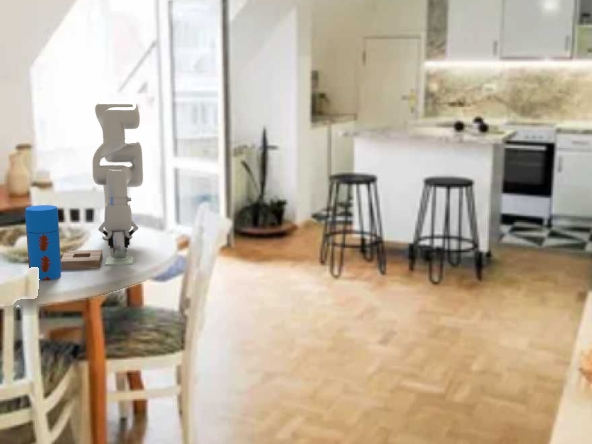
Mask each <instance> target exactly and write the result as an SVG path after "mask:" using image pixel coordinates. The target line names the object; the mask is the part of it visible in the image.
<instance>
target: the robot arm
mask: <svg viewBox="0 0 592 444" xmlns="http://www.w3.org/2000/svg"><path fill="white" fill-rule="evenodd" d="M94 112H95V116H96V119H97V120H98V123H99V126H100V127H101V131H102V144H100V145H99V147H98V148H97V149H96V150H95V152H94V154H93V156H92V179H93V182H94V183H95V184H96V185H98V186H102V187H103V195H104V196H103V197H104V215H103V216H104V221H103V222H102V223H101V225H100V226H98V231H99V232H101V234H102V238H103V239H104V240H107V243H108V247H110V249H112V231H113V230H125V233H126V249H128V248H129V246H130V244H131V243H130V241H131V240H130V238H132V237H133V235H134V233H135V232H136V231H138V229H139V226H138V225H137V224H136V223H135V222H134V221H133V219H132V217H133V215H132V209H131V205H130V204H131V203H129V202H132V197H130V196H128V188H137V187H141V186H142V185H143V183H144V171H143V166H144V164H143V148H142V145H141V143H140V141H138V140H129V139H128V140H126V132H125V131H126V130H137V129H138V128H139V126H140V121H141V119H140V118H141V117H140V109H139V107H138V104H137V103H136V102H134V101H133V102H132V101H103V102H98V103H97V104H96V105H95V106H94ZM103 159H105V161H106V162H107V163H111V164H112V165H110V164H106V165H104V164H103V165H101V161H102V160H103ZM118 163H119V164H121V163H122V164H121V165H119V164H118ZM123 163H125V164H126V163H127V164H128V163H129V164H131V165H129V164H128V165H124V164H123ZM113 164H115V165H113ZM117 164H118V165H117ZM132 227H133V228H132ZM129 230H130V232H129Z"/></svg>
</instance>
